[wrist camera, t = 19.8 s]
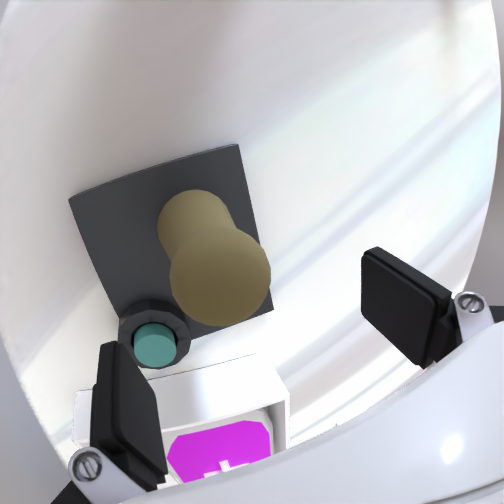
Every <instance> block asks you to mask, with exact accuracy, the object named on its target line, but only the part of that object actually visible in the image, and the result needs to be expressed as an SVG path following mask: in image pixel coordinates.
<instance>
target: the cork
mask: <svg viewBox="0 0 504 504" xmlns="http://www.w3.org/2000/svg"><path fill="white" fill-rule="evenodd" d="M157 232H158V238H159V240H160V242H161V244H162V246H163V248H164V250H165V252H166V253H167V255H168V257H169V259H170V261H171V262H172V263H171V269H170V275H169V277H170V284H171V289H172V294H173V297H174V298H175V300H176V302H177V303H178V305H179V306H180V308H181V309H182V311H183V312H184V313H186V314H187V315H188V316H189V317H191V318H192V319H193V320H195V321H198V322H201V323H203V324H206V325H210V326H228V325H232V324H237V323H239V322H241V321H243V320H245V319H247V318H248V317H250V316H251V315H252V314H253V313H254V312H255V311H256V310H258V309H259V307H260V306H261V304H262V303H263V301H264V299H265V298H266V295H267V292H268V289H269V286H270V282H271V269H270V265H269V262H268V259H267V257H266V254H265V252H264V250H263V249H262V247H261V246H260V245H259V244H258V243H257V242H256V241H255V239H253V238H252V237H251V236H250V235H248V234H246V233H244V232H243V231H241V230H239V229H237V228H236V226H235V224H234V222H233V220H232V218H231V215H230V213H229V211H228V209H227V207H226V205H225V204H224V203H223V202H222V201H221V199H220V198H219V197H217V196H215V195H214V194H212V193H210V192H208V191H203V190H197V189H196V190H188V191H184V192H182V193H179V194H177V195H175V196H173V197H172V198H171V199H170V200H169V201H168V202H167V203H166V204H165V205H164V207H163V209H162V211H161V212H160V214H159V217H158V223H157Z"/></svg>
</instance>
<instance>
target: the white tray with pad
mask: <svg viewBox="0 0 504 504" xmlns="http://www.w3.org/2000/svg"><path fill="white" fill-rule="evenodd" d="M147 382H148V383H149V384H150V386H151V387H152V389H153V390H154V393H155V395H156V400H157V407H158V414H159V421H160V428H161V434H162V440H163V445H164V451H165V456H166V461H167V466H168V475H165V479H166V483H163V484H158V485H157V488H158V490H159V489H163V488H167V487H171V486H174V485H178V484H183V483H187V482H191V481H195V480H198V479H202V478H206V477H209V476H213V475H216V474H219V473H222V472H226V471H229V470H232V469H235V468H238V467H241V466H244V465H247V464H250V463H253V462H256V461H259V460H261V459H264V458H267V457H269V456H272V455H274V454H277V453H279V452H282V451H284V450H287V449H289V448H290V394H289V393H288V391H287V389H286V388H285V386H284V384H283V383H282V381H281V379H280V378H279V376H278V374H277V373H276V371H275V369H274V368H273V366H272V364H271V362H270V361H269V359H268V357H267V356H266V354H265V352H264V351H263V352H259V353H256V354H253V355H249V356H246V357H242V358H239V359H235V360H231V361H228V362H224V363H220V364H216V365H213V366H209V367H205V368H201V369H196V370H192V371H188V372H184V373H179V374H175V375H170V376H166V377H161V378H156V379H151V380H147ZM91 401H92V390H85V391H77V394H76V401H75V409H74V418H73V428H72V441H73V443H74V444H75V445H76V446H77V447H78V448H79V449H81V448H84V447H90V417H91Z"/></svg>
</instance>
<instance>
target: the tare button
mask: <svg viewBox="0 0 504 504" xmlns="http://www.w3.org/2000/svg"><path fill="white" fill-rule="evenodd" d="M134 353H135V356H136V358H137V359H138V360H139V361H140V362H141V363H143V364H144V365H147V366H150V367H161V366H165V365H167V364H169V363H170V362H171V361H172V360H173V359H174V358H175V355H176V345H175V339H174V335H173V333H172V331H171V330H170V329H169V328H168V327H166V326H164V325H162V324H158V323H149V324H145V325H143V326H141V327H140V328H139V329H138V330H137V331H136V333H135V336H134Z"/></svg>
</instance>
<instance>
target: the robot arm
mask: <svg viewBox="0 0 504 504" xmlns="http://www.w3.org/2000/svg"><path fill="white" fill-rule="evenodd" d="M451 295H452V292H451V291H449V290H448V289H446V288H445V287H443V286H442V285H440V284H438V283H437V282H435V281H434V280H432V279H431V278H429V277H428V276H426V275H424V274H423V273H421V272H420V271H418V270H416V269H415V268H413V267H412V266H410V265H408V264H407V263H405V262H403V261H402V260H400V259H398V258H397V257H395V256H394V255H392V254H390V253H389V252H387V251H385V250H383V249H382V248H380V247H374V248H372V249H369V250H367V251H365V252H364V255H363V256H362V258H361V312H362V315H363V316H364V318H365V319H366V320H368V321H369V322H370V323H371V324H372V325H373V326H374V327H375V328H376V329H377V330H378V331H379V332H380V333H382V334H383V335H384V336H385V337H386V338H387V339H388V340H389V341H390V342H391V343H392V344H393V345H394V346H395V347H396V348H397V349H399V350H400V351H401V352H402V353H403V354H404V355H405V356H406V357H407V358H408V359H409V360H410V361H411V362H412V363H413V364H415V365H419V366H420V367H421V368H422V369H423V370H424V369H425V368H427V367H428V366H429V365H431V364H432V363H433V361H435V362H436V364H435V365H434V366H432V367H431V368H430V369H428V370H427V371H426V372H424V373H423V374H422V375H420V376H419V377H417V378H416V379H414V380H413V381H412V382H410V383H409V384H407V385H406V386H404V387H403V388H401V389H400V390H398V391H397V392H395V393H394V394H392V395H390V396H389V397H387V398H386V399H384V400H382V401H381V402H379V403H377V404H376V405H374V406H372V407H371V408H369V409H367V410H366V411H364V412H362V413H360V414H359V415H357V416H355V417H353V418H351V419H350V420H348V421H346V422H344V423H342V424H340V425H338V426H336V427H334V428H332V429H330V430H328V431H326V432H324V433H322V434H320V435H318V436H316V437H314V438H312V439H310V440H307V441H305V442H303V443H301V444H298V445H296V446H294V447H292V448H289V449H287V450H284V451H282V452H279V453H277V454H274V455H272V456H269V457H267V458H264V459H261V460H259V461H256V462H253V463H250V464H247V465H244V466H241V467H238V468H235V469H232V470H229V471H226V472H222V473H219V474H216V475H213V476H209V477H206V478H202V479H198V480H195V481H191V482H187V483H183V484H178V485H174V486H171V487H167V488H163V489H159V490H158V488H157V485H158V484H163V483H166V479H165V475H168V466H167V461H166V456H165V451H164V445H163V440H162V434H161V428H160V421H159V414H158V407H157V400H156V395H155V393H154V390H153V389H152V387H151V386H150V384H149V383H148V382H147V380H146V379H145V377H144V376H143V374H142V373H141V371H140V369H139V368H138V366H137V365H136V363H135V362H134V360H133V359H132V357H131V355H130V354H129V352H128V350H127V349H126V347H125V346H124V344H123V343H118V342H117V341H111V342H108V343H105V344H102V345H101V347H100V354H99V362H98V372H97V383H96V384H95V385H94V386H93V389H92V401H91V417H90V447H84V448H81V449H79V450H78V451H76V452H75V453H74V454H73V456H72V457H71V459H70V461H69V465H68V472H69V475H70V477H71V479H72V480H71V481H70V482H69V483H68V485H67V486H66V487H65V488H64V489H63V490H62V491H61V493H60V494H59V495H58V496H57V497H56V498H55V500H54V501H53V502H52V503H51V504H504V306H489V305H488V302H487V301H486V299H485V298H484V297H483V296H482V295H480V294H478V293H476V292H472V291H463V292H460V293H458V294H457V295H456V296H455V299H454V300H453V299H452V298H451Z"/></svg>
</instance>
